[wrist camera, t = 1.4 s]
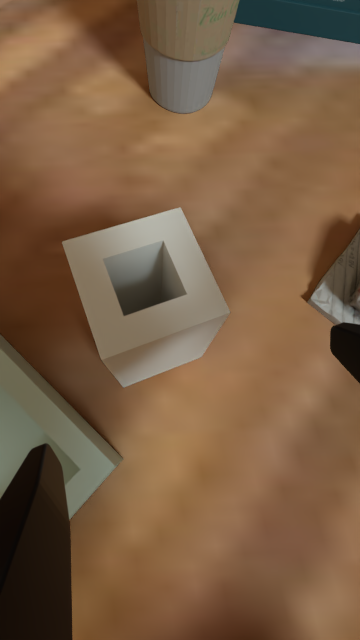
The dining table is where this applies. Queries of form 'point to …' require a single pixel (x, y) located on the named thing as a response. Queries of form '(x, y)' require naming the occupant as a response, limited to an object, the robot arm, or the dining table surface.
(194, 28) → the coffee cup
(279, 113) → the dining table surface
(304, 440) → the dining table surface
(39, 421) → the green square tray
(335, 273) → the packaged product
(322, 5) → the donation box
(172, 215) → the beige hollow square block
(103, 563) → the dining table surface
